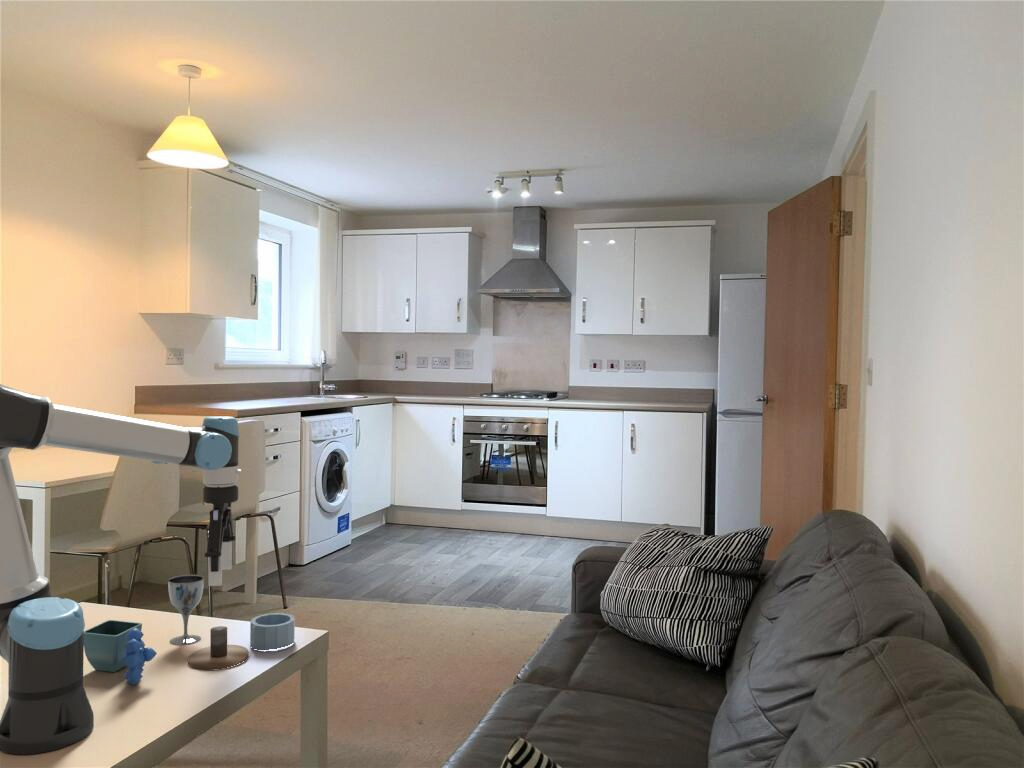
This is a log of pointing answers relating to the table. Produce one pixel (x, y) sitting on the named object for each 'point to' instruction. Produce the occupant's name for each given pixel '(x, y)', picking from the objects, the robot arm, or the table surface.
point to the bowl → (272, 631)
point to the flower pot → (108, 644)
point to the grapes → (136, 656)
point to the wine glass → (185, 602)
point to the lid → (218, 652)
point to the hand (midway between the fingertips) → (220, 577)
